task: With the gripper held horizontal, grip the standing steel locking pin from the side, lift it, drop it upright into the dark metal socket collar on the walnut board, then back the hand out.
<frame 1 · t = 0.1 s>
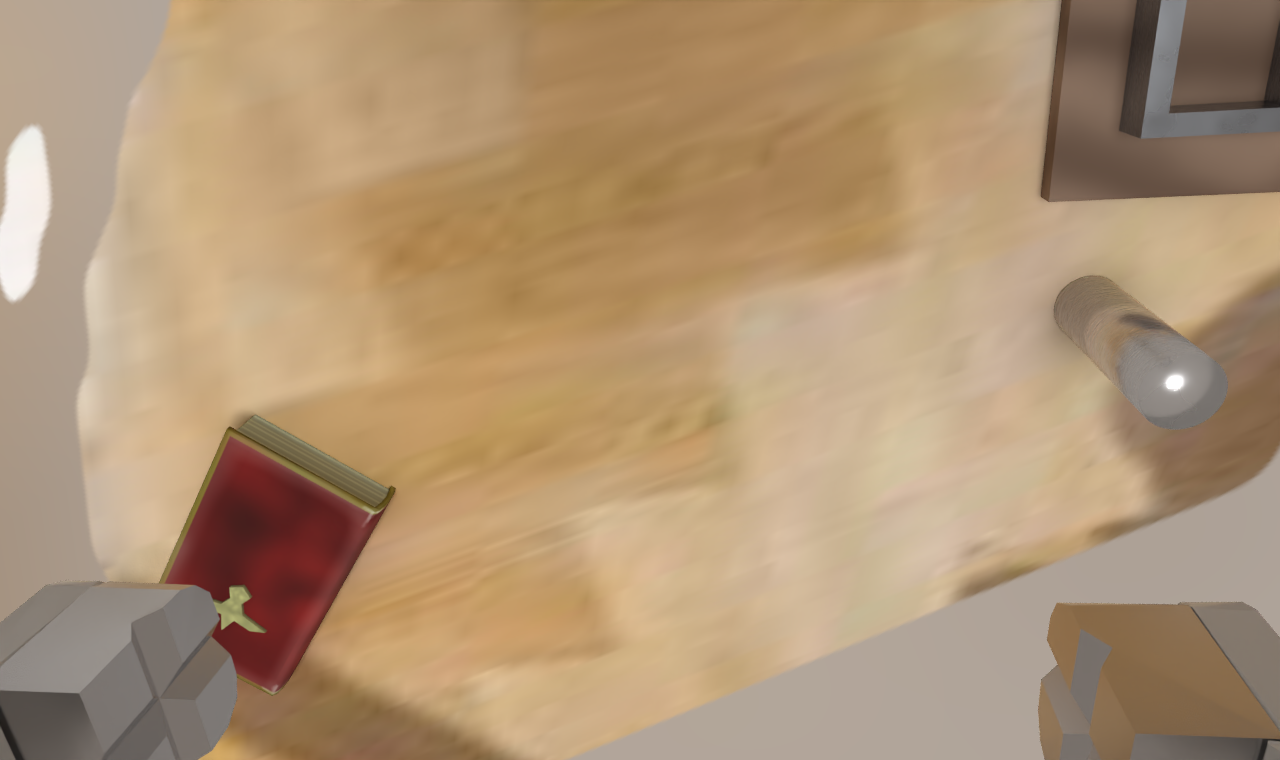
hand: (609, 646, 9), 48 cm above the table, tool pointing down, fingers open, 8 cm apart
hardcover book: (280, 542, 70), on the table
steel pin: (1088, 306, 55), on the table
socket collar: (1228, 46, 45), on the socket board, point 2 cm above the table
socket board: (1200, 43, 48), on the table
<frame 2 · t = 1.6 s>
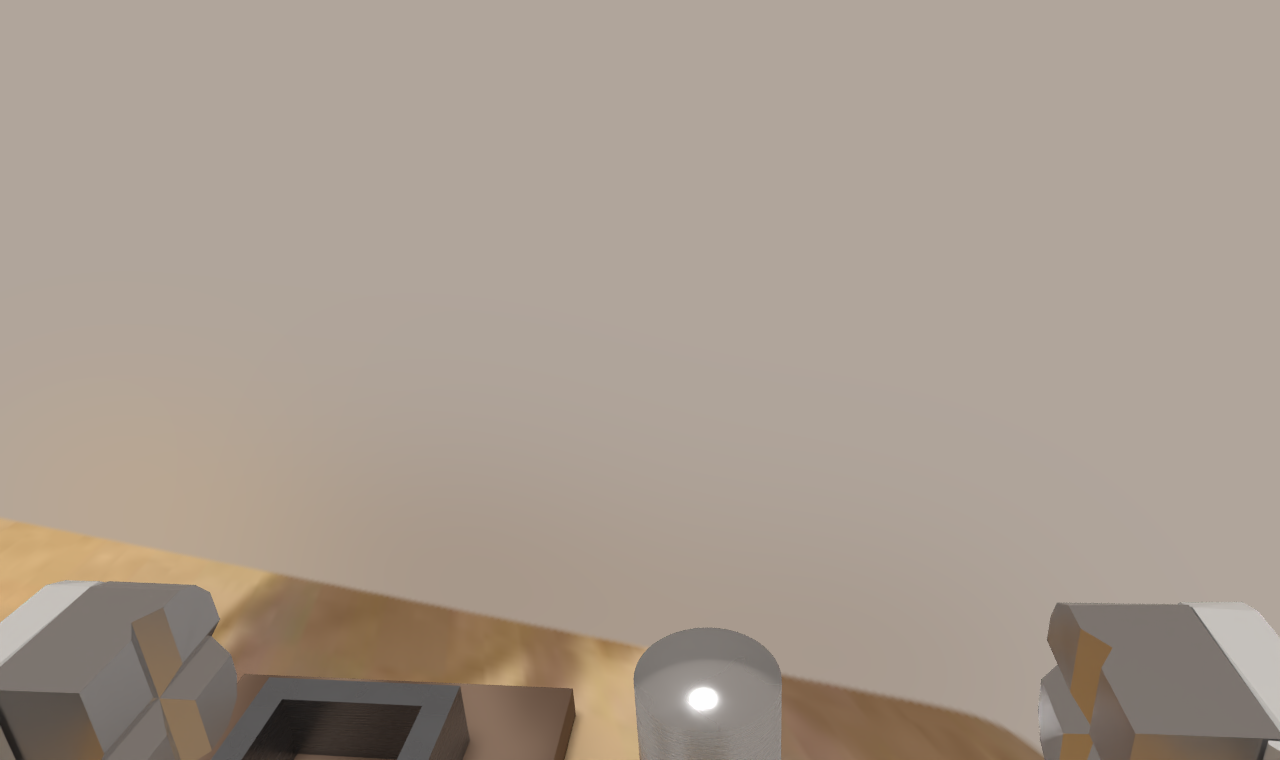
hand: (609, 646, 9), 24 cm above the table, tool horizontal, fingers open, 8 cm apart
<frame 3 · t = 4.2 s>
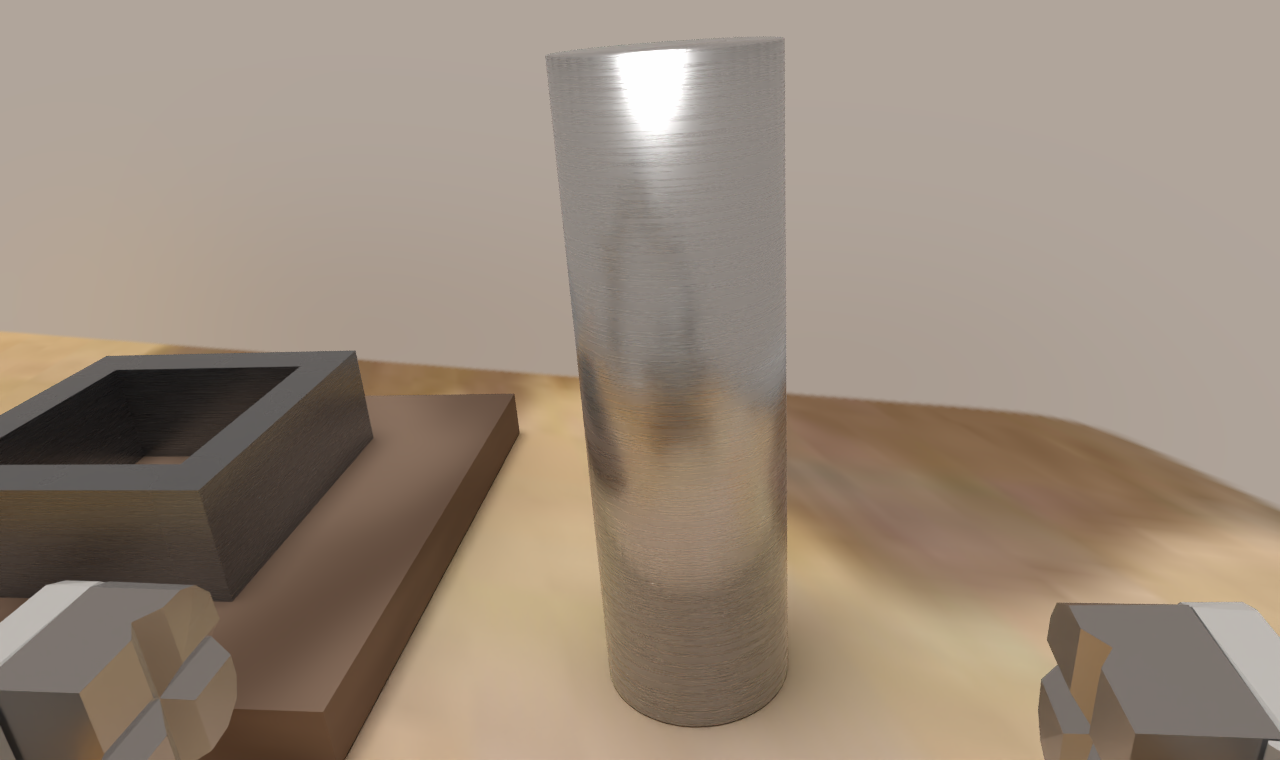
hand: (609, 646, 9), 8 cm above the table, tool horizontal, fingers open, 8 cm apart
steel pin: (697, 659, 20), on the table
socket collar: (159, 459, 24), on the socket board, point 3 cm above the table
socket board: (188, 551, 26), on the table
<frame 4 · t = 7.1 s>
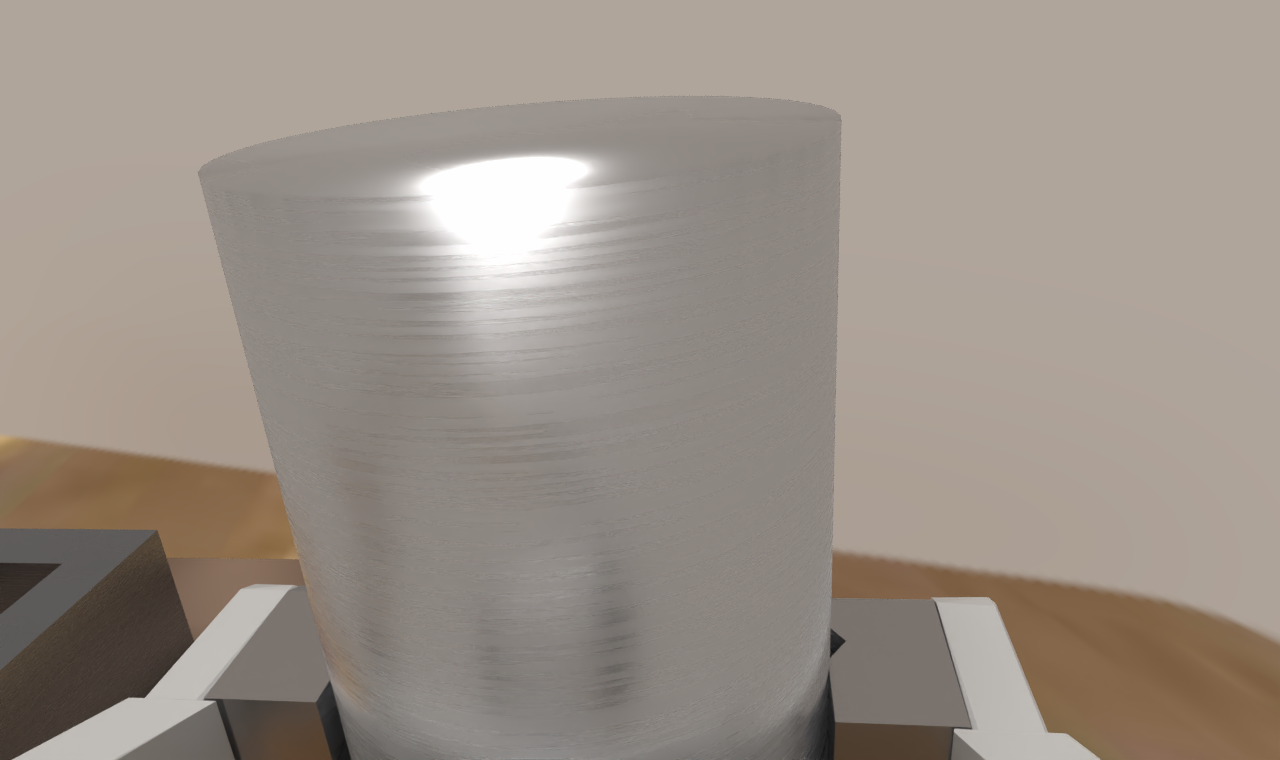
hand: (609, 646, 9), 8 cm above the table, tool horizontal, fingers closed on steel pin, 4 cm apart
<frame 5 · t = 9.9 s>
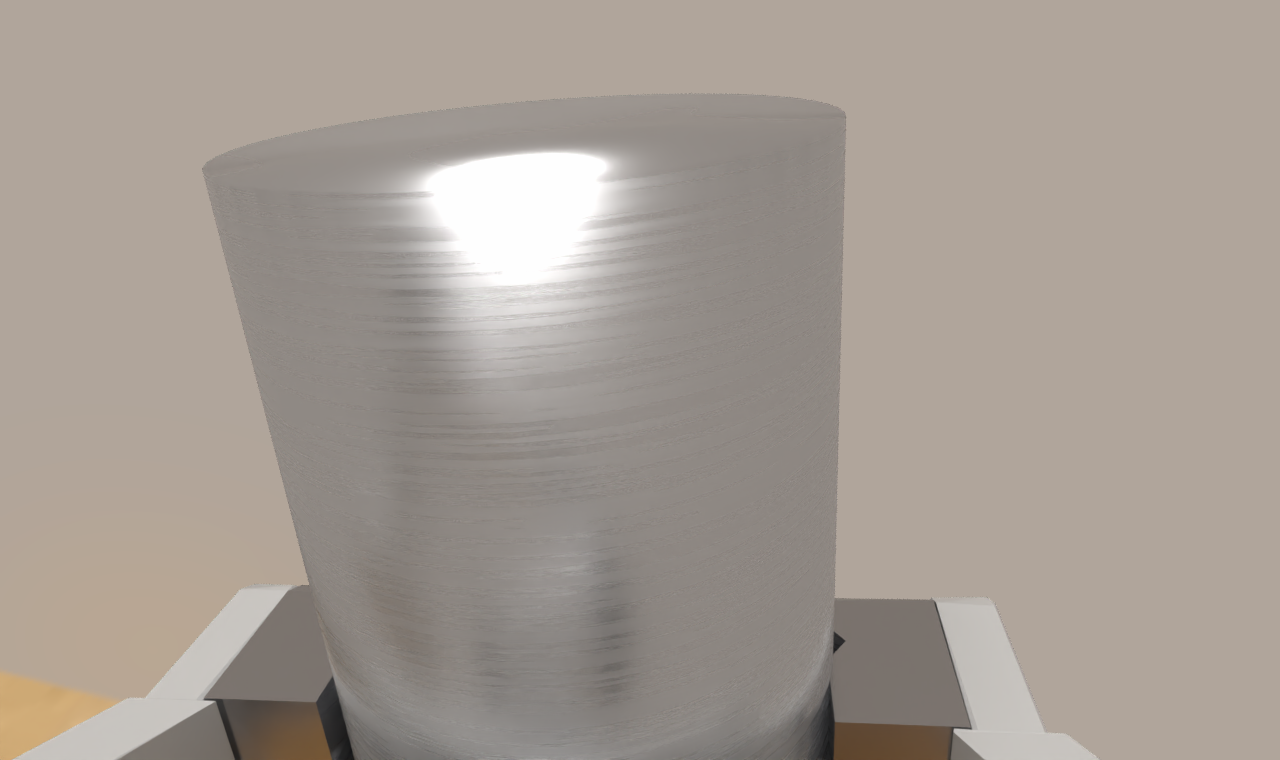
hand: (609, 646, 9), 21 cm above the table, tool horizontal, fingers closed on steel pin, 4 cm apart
when the fingers open (11 cm above the table, at t = 13.1 s): steel pin drops 1 cm, resting on socket board.
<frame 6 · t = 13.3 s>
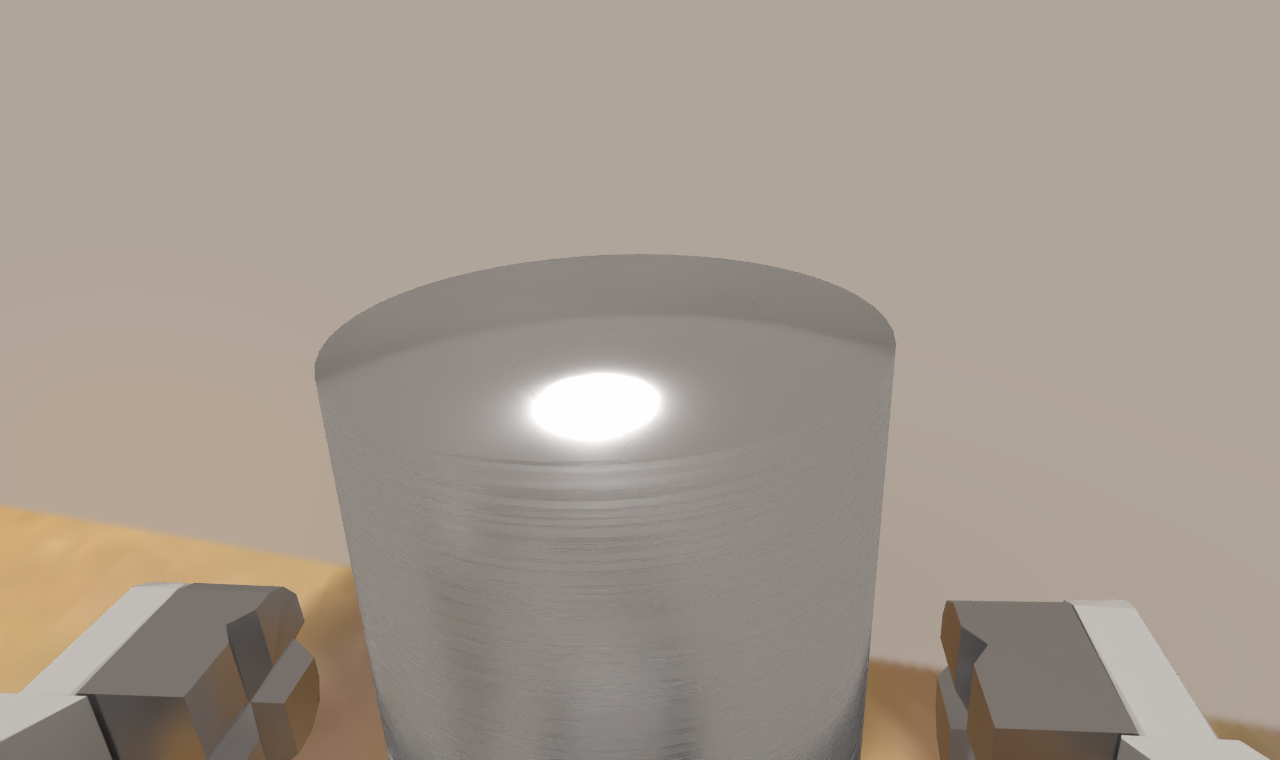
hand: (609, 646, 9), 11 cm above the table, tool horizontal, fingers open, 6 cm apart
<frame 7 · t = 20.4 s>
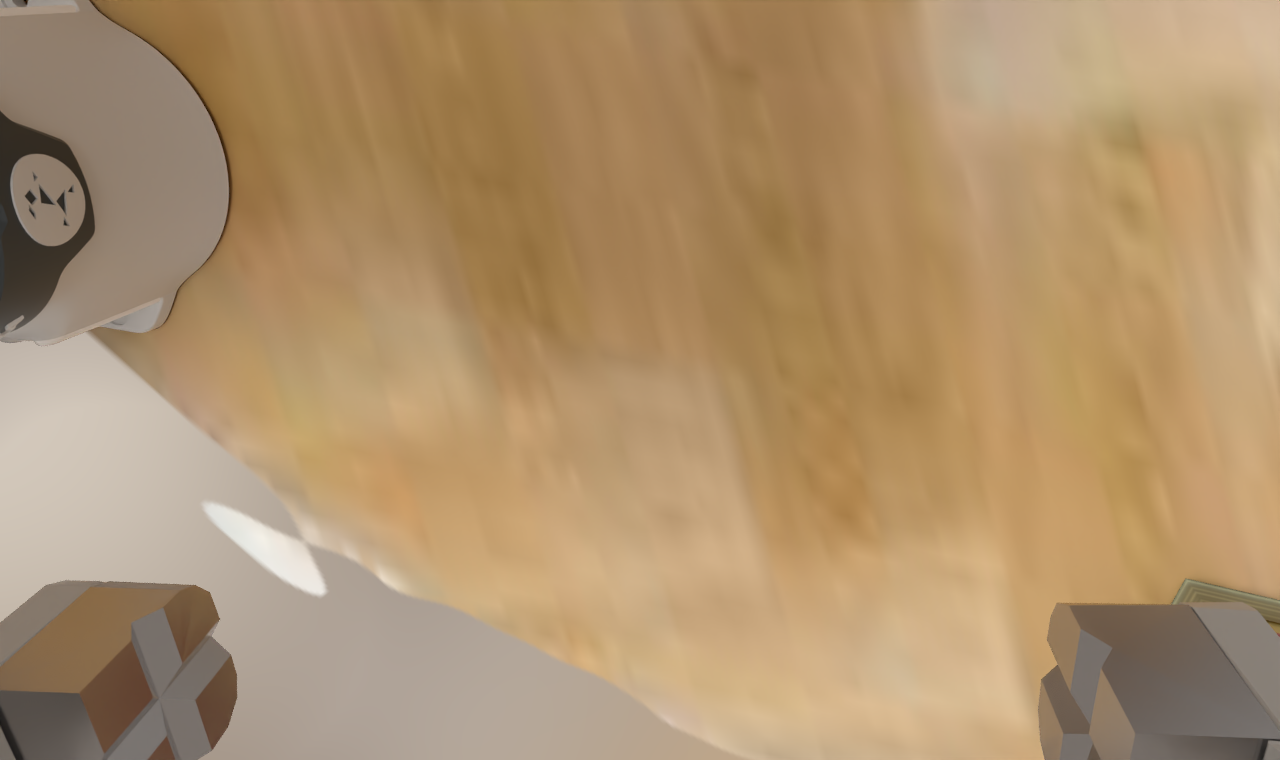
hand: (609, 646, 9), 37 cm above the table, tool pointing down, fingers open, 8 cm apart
hardcover book: (1198, 725, 54), on the table
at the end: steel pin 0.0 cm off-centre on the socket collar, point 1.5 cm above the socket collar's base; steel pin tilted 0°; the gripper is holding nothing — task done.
